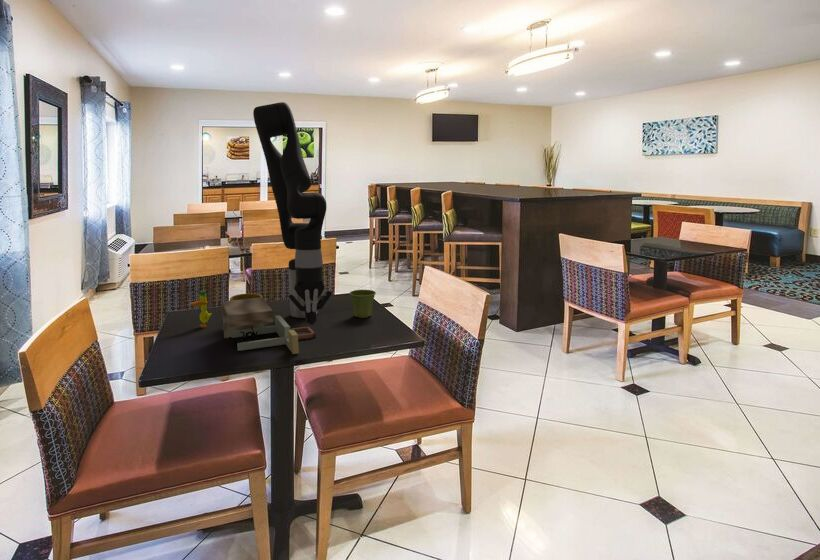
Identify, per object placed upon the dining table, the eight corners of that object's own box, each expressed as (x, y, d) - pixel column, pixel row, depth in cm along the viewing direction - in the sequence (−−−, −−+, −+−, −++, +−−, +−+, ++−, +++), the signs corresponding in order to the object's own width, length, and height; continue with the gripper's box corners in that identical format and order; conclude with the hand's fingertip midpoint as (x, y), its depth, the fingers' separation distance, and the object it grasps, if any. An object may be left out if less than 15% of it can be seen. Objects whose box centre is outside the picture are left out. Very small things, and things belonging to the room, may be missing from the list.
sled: (280, 330, 161) (279, 314, 160) (298, 353, 141) (297, 334, 140) (231, 336, 155) (230, 319, 154) (243, 361, 134) (241, 342, 133)
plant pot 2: (378, 318, 177) (377, 294, 175) (351, 320, 175) (351, 296, 173) (373, 311, 186) (373, 289, 184) (348, 313, 184) (347, 290, 182)
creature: (237, 354, 144) (263, 344, 148) (232, 338, 142) (258, 327, 146) (229, 347, 150) (255, 337, 154) (224, 331, 148) (250, 321, 152)
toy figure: (193, 329, 163) (190, 294, 160) (190, 327, 165) (187, 292, 163) (214, 326, 167) (212, 291, 164) (211, 323, 169) (209, 289, 167)
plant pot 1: (259, 329, 164) (258, 300, 162) (227, 329, 163) (225, 300, 161) (266, 320, 174) (265, 293, 172) (236, 320, 173) (234, 293, 171)
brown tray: (308, 330, 162) (308, 326, 162) (315, 337, 156) (315, 333, 155) (287, 333, 159) (287, 329, 159) (293, 340, 152) (293, 336, 152)
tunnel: (263, 332, 161) (261, 297, 158) (274, 348, 145) (272, 310, 143) (224, 337, 155) (221, 301, 153) (231, 354, 140) (228, 315, 138)
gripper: (327, 261, 146) (329, 318, 149) (282, 264, 140) (284, 323, 144) (335, 265, 140) (336, 324, 143) (288, 268, 134) (290, 330, 137)
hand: (310, 324), depth 143 cm, fingers closed
